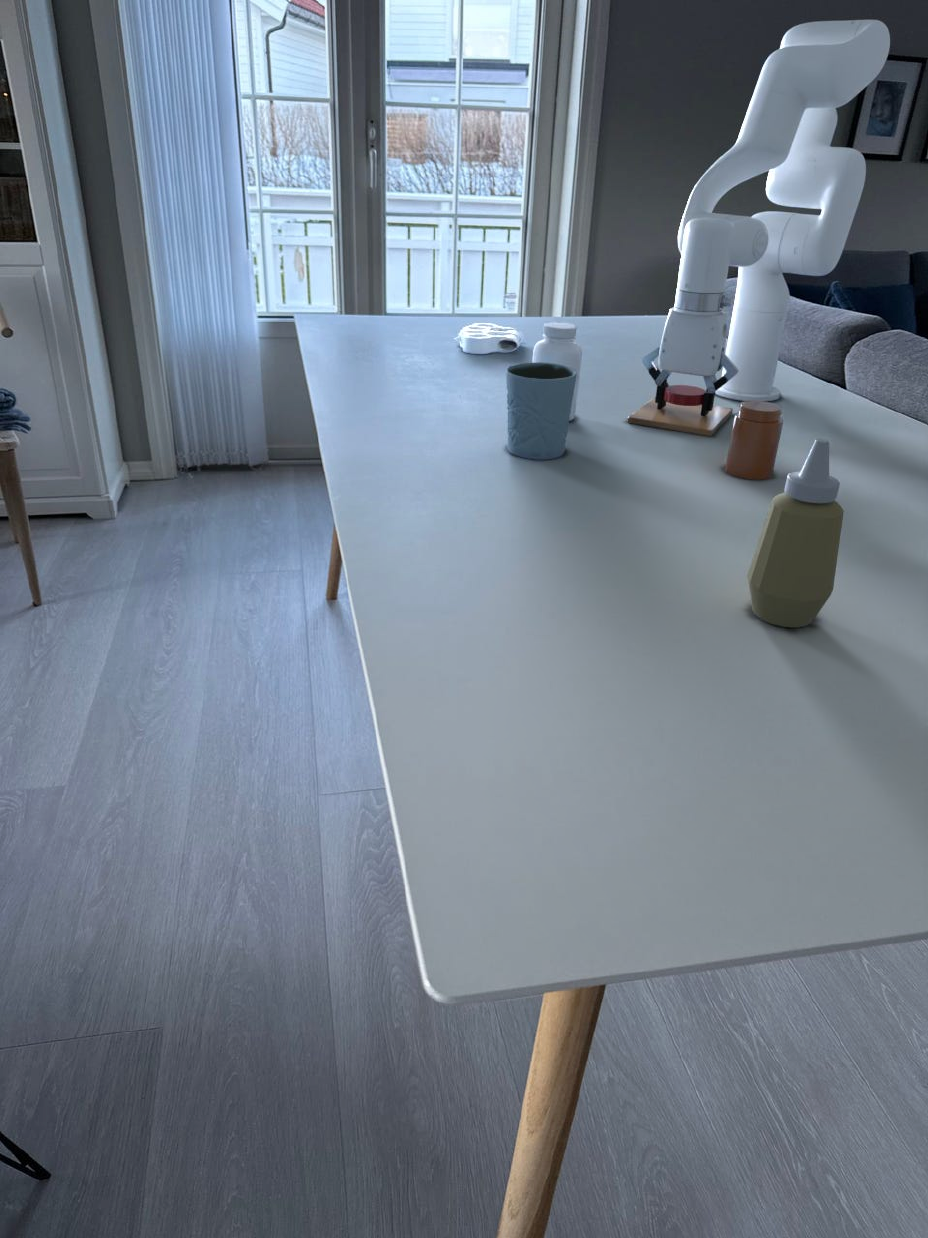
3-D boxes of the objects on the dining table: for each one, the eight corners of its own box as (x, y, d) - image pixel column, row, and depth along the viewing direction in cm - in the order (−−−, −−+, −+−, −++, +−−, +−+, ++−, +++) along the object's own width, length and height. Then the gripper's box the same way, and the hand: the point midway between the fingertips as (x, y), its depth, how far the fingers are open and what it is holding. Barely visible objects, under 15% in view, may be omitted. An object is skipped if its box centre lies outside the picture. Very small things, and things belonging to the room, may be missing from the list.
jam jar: (730, 461, 134) (742, 397, 129) (775, 469, 131) (789, 404, 127) (720, 474, 128) (732, 407, 124) (768, 482, 126) (782, 414, 121)
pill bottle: (573, 425, 148) (582, 331, 141) (524, 420, 149) (531, 327, 142) (577, 412, 155) (586, 322, 148) (531, 408, 156) (538, 318, 149)
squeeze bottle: (729, 597, 93) (762, 426, 85) (804, 596, 94) (844, 427, 86) (758, 635, 86) (798, 453, 78) (838, 634, 87) (887, 454, 78)
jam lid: (656, 400, 152) (657, 390, 151) (673, 393, 157) (674, 382, 156) (695, 408, 148) (696, 397, 148) (711, 400, 153) (713, 389, 153)
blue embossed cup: (575, 446, 138) (583, 366, 132) (560, 465, 129) (567, 381, 124) (512, 437, 140) (517, 359, 135) (493, 455, 132) (497, 373, 126)
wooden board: (654, 402, 163) (655, 396, 163) (732, 413, 158) (733, 408, 157) (627, 422, 150) (628, 416, 150) (710, 436, 145) (711, 430, 145)
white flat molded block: (515, 356, 193) (448, 352, 194) (523, 340, 208) (461, 336, 210) (516, 340, 191) (449, 336, 193) (524, 325, 207) (461, 321, 208)
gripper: (758, 304, 145) (738, 413, 153) (653, 293, 151) (640, 398, 160) (748, 311, 139) (728, 424, 147) (640, 299, 146) (627, 408, 154)
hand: (682, 410), depth 154 cm, fingers closed on jam lid, 6 cm apart
